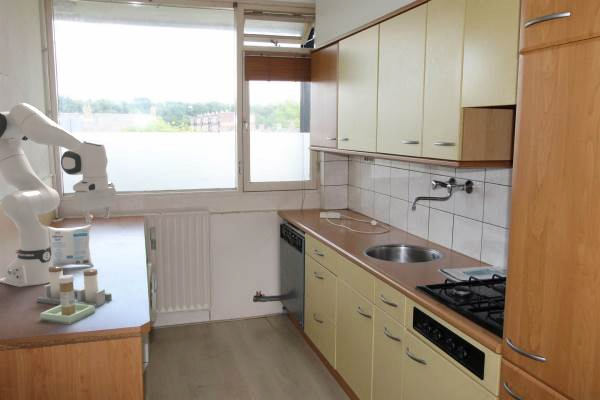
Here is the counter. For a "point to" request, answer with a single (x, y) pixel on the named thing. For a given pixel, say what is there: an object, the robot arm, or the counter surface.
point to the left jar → (55, 280)
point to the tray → (56, 316)
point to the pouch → (70, 246)
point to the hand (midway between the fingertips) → (97, 220)
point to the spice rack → (99, 296)
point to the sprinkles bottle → (67, 295)
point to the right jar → (90, 285)
